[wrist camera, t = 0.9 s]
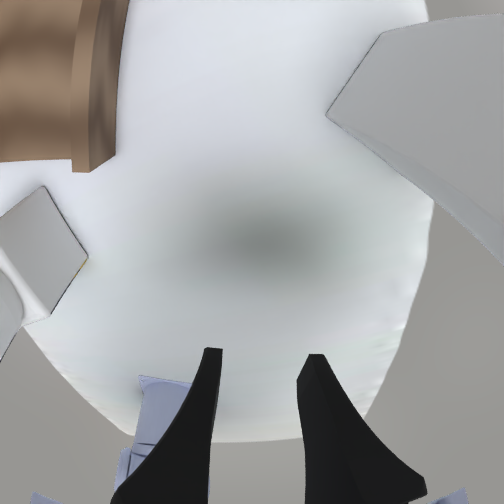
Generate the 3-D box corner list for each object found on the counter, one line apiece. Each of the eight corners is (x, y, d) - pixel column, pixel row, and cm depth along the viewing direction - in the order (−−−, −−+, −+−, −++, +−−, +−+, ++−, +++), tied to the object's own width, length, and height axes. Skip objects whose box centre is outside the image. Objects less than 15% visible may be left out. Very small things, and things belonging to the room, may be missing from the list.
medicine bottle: (44, 279, 22) (-16, 377, 12) (4, 219, 18) (-77, 305, 8) (90, 256, 21) (19, 377, 11) (44, 183, 17) (-64, 280, 7)
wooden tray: (115, 155, 16) (89, 172, 13) (-16, 160, 15) (-43, 176, 12) (153, -82, 7) (136, -104, 4) (2, -28, 5) (-24, -31, 2)
